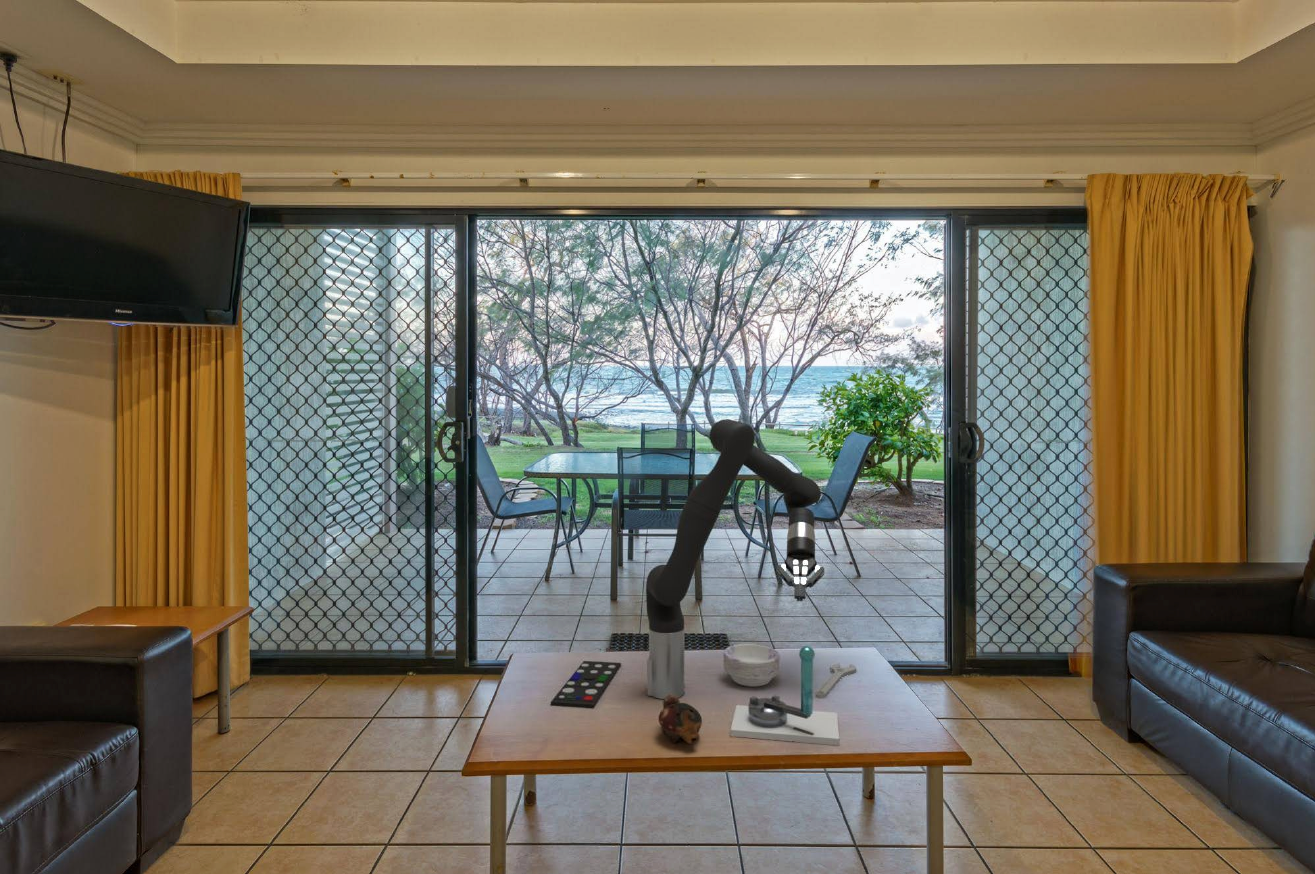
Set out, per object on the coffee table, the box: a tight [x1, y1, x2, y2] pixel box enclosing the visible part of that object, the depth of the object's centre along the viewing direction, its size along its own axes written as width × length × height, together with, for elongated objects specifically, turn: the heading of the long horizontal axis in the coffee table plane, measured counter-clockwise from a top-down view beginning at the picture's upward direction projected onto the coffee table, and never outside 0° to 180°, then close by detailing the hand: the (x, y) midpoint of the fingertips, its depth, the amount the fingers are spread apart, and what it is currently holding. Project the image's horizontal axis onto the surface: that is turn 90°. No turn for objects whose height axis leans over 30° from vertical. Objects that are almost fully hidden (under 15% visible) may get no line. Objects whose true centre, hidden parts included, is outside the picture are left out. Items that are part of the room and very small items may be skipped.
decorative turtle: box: [658, 695, 703, 745], centre depth 167 cm, size 10×15×8 cm, turn 27°
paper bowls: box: [723, 643, 781, 688], centre depth 201 cm, size 15×15×8 cm
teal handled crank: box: [747, 645, 816, 727], centre depth 170 cm, size 16×9×19 cm, turn 52°
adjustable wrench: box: [814, 663, 857, 699], centre depth 200 cm, size 25×6×2 cm, turn 145°
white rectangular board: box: [730, 704, 840, 746], centre depth 172 cm, size 24×14×2 cm, turn 78°
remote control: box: [550, 660, 622, 709], centre depth 200 cm, size 11×30×2 cm, turn 170°
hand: (799, 599), depth 189 cm, fingers closed
